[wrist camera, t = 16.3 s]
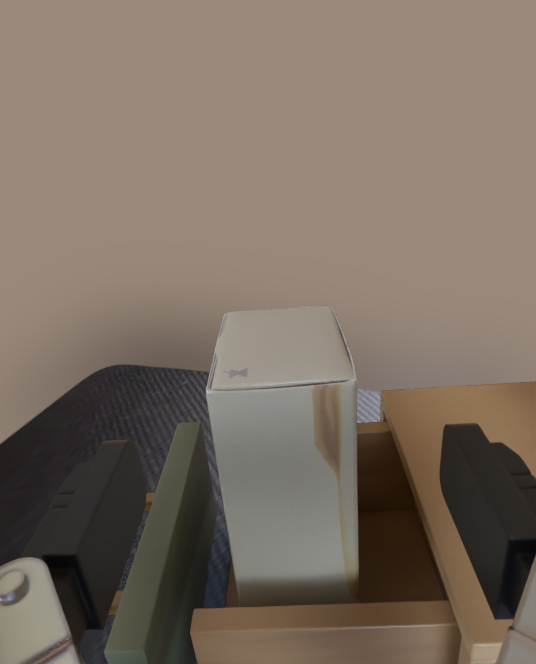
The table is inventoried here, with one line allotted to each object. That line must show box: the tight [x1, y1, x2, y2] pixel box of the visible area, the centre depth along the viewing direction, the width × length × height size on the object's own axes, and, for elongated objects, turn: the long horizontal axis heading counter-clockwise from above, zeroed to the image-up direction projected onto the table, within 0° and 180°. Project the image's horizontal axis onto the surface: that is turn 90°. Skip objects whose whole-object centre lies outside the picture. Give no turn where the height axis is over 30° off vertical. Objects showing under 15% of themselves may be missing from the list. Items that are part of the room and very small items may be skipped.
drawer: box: [104, 422, 462, 664], centre depth 20 cm, size 17×11×6 cm, turn 89°
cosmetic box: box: [206, 305, 359, 607], centre depth 18 cm, size 6×4×12 cm
